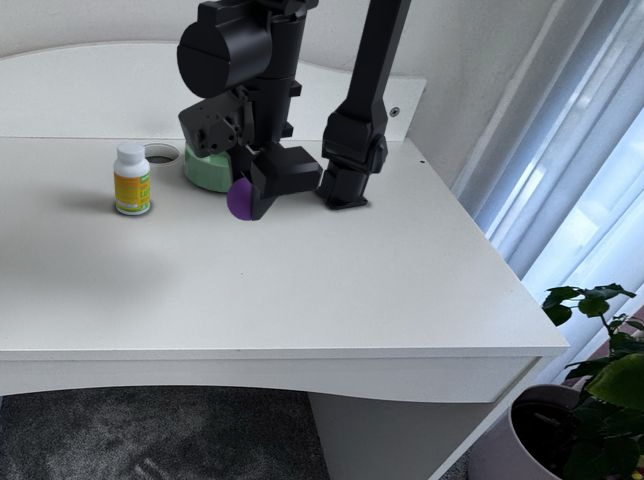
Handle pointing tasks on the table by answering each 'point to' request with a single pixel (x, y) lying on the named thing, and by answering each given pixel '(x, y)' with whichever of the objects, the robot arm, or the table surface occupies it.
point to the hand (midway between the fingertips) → (246, 208)
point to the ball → (240, 199)
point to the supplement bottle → (132, 178)
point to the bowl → (208, 170)
